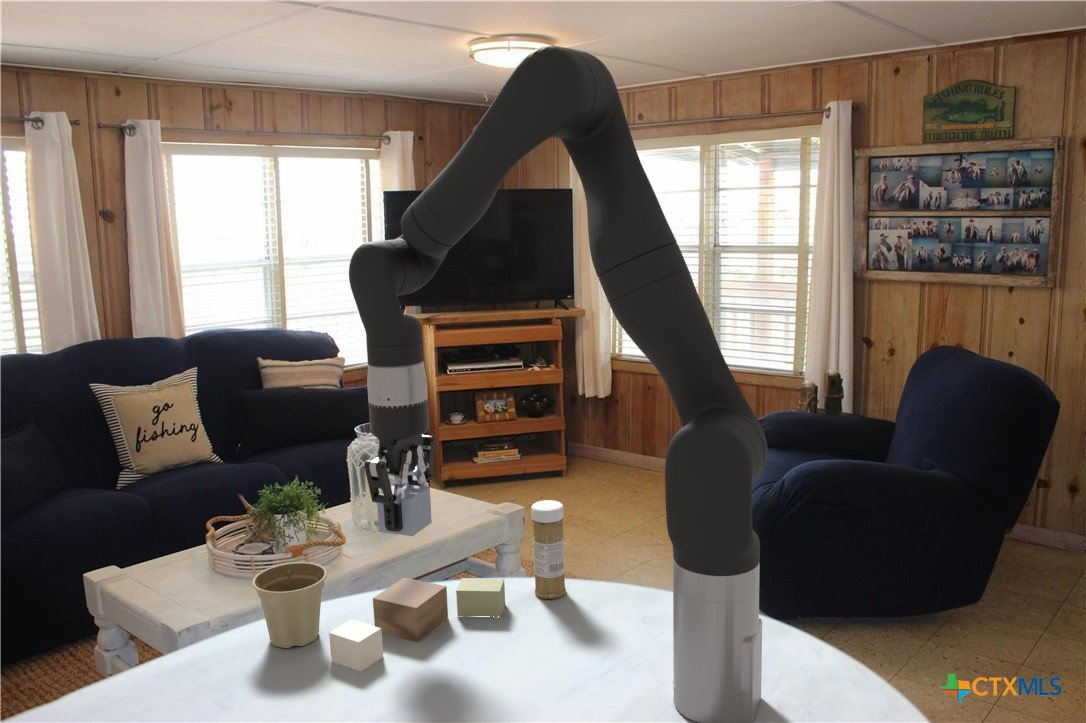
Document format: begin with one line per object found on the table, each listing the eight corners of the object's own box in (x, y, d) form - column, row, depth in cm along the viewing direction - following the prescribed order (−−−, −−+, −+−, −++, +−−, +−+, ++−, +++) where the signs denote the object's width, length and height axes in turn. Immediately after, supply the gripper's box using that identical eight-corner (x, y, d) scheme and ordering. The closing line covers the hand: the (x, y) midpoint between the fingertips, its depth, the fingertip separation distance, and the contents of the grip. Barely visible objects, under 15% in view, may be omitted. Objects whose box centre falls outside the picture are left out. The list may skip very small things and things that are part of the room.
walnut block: (448, 620, 122) (446, 586, 121) (418, 643, 116) (416, 607, 115) (406, 610, 125) (404, 577, 125) (375, 633, 119) (372, 598, 118)
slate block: (431, 522, 119) (429, 486, 119) (412, 536, 115) (410, 499, 114) (399, 518, 121) (397, 483, 120) (379, 531, 117) (376, 495, 116)
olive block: (505, 605, 126) (504, 578, 125) (500, 618, 122) (499, 591, 121) (463, 604, 127) (462, 578, 126) (457, 617, 123) (456, 590, 122)
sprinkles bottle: (561, 584, 132) (559, 497, 129) (569, 598, 127) (566, 508, 125) (531, 588, 131) (528, 500, 128) (538, 602, 126) (534, 511, 124)
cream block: (383, 657, 113) (381, 628, 112) (360, 672, 110) (358, 642, 109) (354, 648, 116) (351, 619, 115) (331, 662, 112) (329, 632, 111)
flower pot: (341, 621, 123) (336, 561, 121) (317, 656, 113) (312, 592, 112) (275, 620, 124) (269, 561, 122) (246, 655, 114) (240, 591, 113)
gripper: (393, 412, 107) (401, 546, 110) (450, 386, 120) (456, 507, 123) (340, 408, 110) (350, 539, 113) (401, 383, 123) (409, 502, 126)
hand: (405, 522), depth 118 cm, fingers closed on slate block, 5 cm apart
